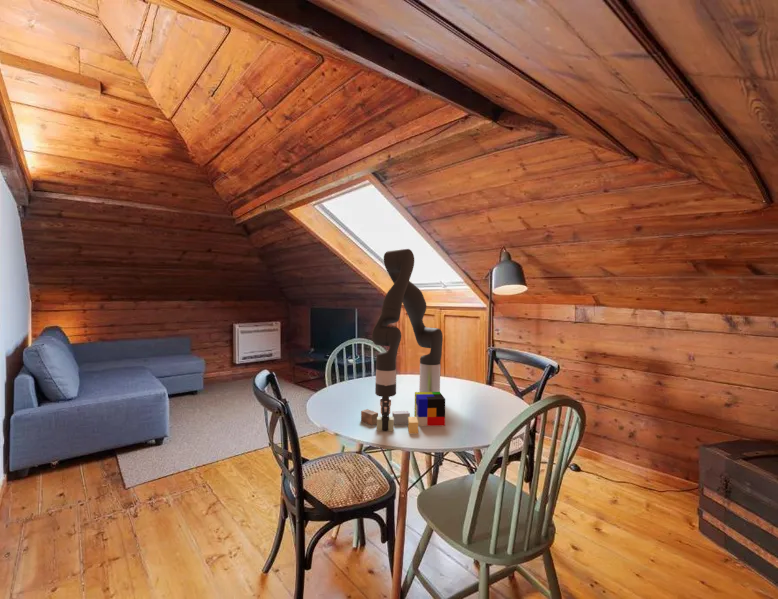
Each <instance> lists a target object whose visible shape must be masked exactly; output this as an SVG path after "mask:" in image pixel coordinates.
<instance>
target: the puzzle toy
mask: <svg viewBox="0 0 778 599" xmlns="http://www.w3.org/2000/svg"><path fill="white" fill-rule="evenodd" d="M413 415H414V416H413V417H417V420H418V427H422V426H424V427H427V426H429V427H430V426H446V398H445V397H444V395H443V394H442V393H441V391H440V392H419V391H415V392H414V414H413Z"/></svg>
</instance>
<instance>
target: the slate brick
mask: <svg viewBox="0 0 778 599" xmlns="http://www.w3.org/2000/svg"><path fill="white" fill-rule="evenodd" d="M391 414H392V416H391V417H394V425H403V424H404V425H408V417H411V414H410V412H409V410H394V411H392V413H391Z"/></svg>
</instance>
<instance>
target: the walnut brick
mask: <svg viewBox="0 0 778 599" xmlns="http://www.w3.org/2000/svg"><path fill="white" fill-rule="evenodd" d="M360 416H361V417H360V421H361V422H363V423H365V424H369V425H370V426H373V425H377V417H379V413H378V412H377V411H374V410H371V409H368V408H367V409H363V410H361V412H360Z"/></svg>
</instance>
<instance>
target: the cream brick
mask: <svg viewBox="0 0 778 599" xmlns="http://www.w3.org/2000/svg"><path fill="white" fill-rule="evenodd" d="M394 425H395V424H394V417H392V416H389V421H388V431H390V432H393V431H394V428H395V427H394ZM376 431H382V432H384V431H383V430H382V416H378V417H377V424H376ZM388 431H387V432H388Z"/></svg>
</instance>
